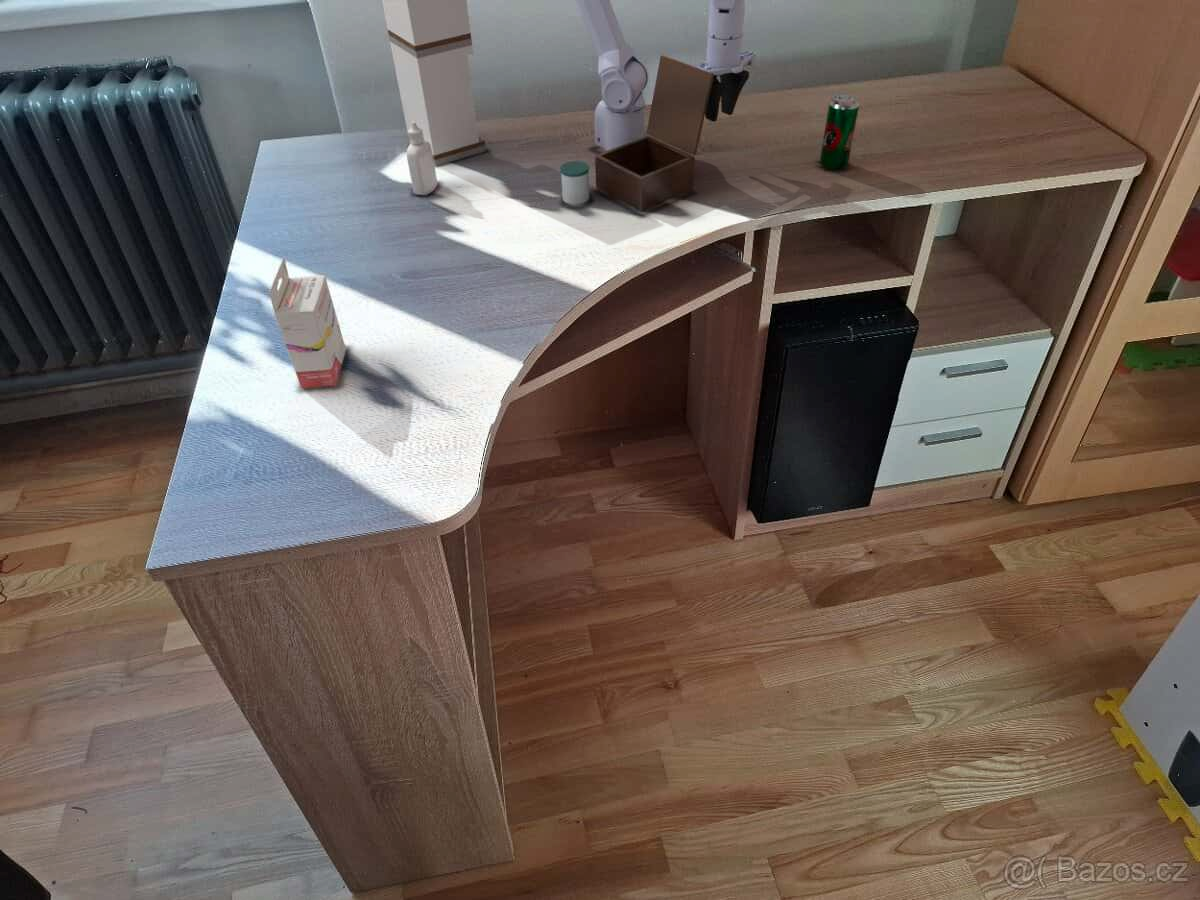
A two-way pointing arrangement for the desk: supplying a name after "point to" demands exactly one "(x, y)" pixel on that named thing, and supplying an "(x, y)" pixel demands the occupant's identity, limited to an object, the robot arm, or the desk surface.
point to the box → (644, 173)
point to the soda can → (839, 131)
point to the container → (575, 182)
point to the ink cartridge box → (308, 327)
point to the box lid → (679, 104)
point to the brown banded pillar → (435, 73)
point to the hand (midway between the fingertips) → (719, 116)
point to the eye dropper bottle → (420, 162)
